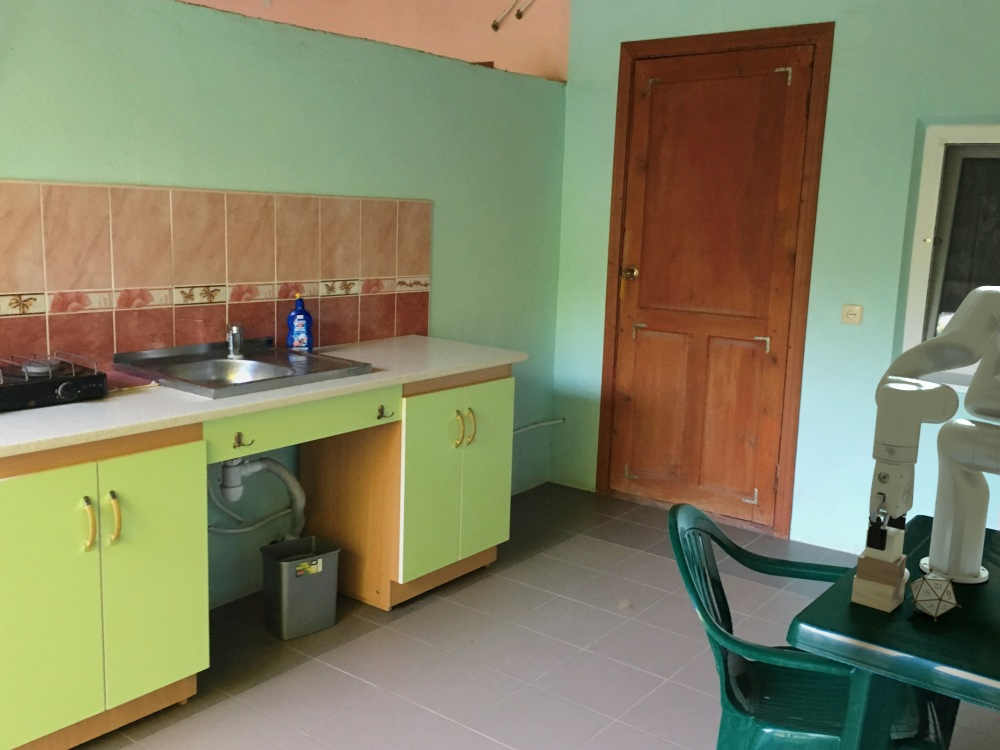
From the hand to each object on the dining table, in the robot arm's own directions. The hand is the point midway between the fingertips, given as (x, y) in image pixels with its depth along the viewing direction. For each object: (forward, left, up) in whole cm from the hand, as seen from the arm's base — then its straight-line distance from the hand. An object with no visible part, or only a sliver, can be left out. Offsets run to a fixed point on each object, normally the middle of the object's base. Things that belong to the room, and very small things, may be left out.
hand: (885, 542), depth 171 cm
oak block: (0, 0, -12) cm, 12 cm away
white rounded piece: (-8, 0, -12) cm, 14 cm away
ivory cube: (0, 0, -3) cm, 3 cm away
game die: (0, +9, -12) cm, 15 cm away
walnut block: (0, 0, -7) cm, 7 cm away
